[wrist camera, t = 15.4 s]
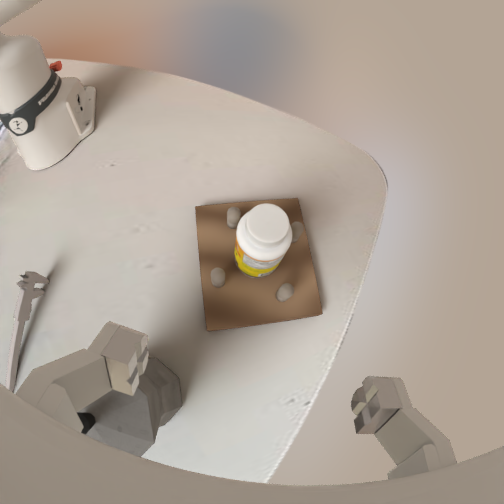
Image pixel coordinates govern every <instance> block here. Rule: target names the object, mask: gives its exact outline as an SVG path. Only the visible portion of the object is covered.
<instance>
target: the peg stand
mask: <svg viewBox="0 0 504 504" xmlns="http://www.w3.org/2000/svg"><path fill="white" fill-rule="evenodd" d="M264 203H268V204H274V205H276V206H278V207H280V208H281V209H282V210H283V211H284V212H285V213H286V214H287V216H288V219H289V223H290V226H291V229H292V242H291V244H290V247H289V249H288V250H287V252H286V254H285V255H284V257H283V258H282V260H281V262H280V263H279V265H278V266H277V268H276V269H275V270H274V272H272V273H271V274H270V275H268V276H266V277H263V278H252V277H249V276H247V275H245V274H244V273H242V272H241V271H240V270H239V268H238V267H237V265H236V262H235V258H234V251H235V240H236V231H237V226H238V223H239V221H240V219H241V218H242V217H243V216H244V215H245V214H246V213H247V212H249V211H250V210H252V209H253V208H254V207H255V206H257V205H260V204H264ZM195 209H196V224H197V237H198V249H199V261H200V272H201V282H202V292H203V301H204V310H205V319H206V327H207V331H215V330H224V329H232V328H240V327H248V326H255V325H262V324H269V323H276V322H283V321H289V320H295V319H301V318H307V317H313V316H318V315H321V314H323V313H322V307H321V302H320V297H319V292H318V287H317V282H316V277H315V272H314V267H313V262H312V257H311V253H310V248H309V244H308V239H307V235H306V230H305V226H304V222H303V217H302V213H301V209H300V205H299V201H298V198H293V199H277V200H263V201H250V202H238V203H226V204H216V205H205V206H196V207H195Z"/></svg>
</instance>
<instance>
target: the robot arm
mask: <svg viewBox="0 0 504 504" xmlns="http://www.w3.org/2000/svg"><path fill="white" fill-rule="evenodd" d="M40 1H41V0H0V26H2V25H3V24H4V23H6V22H8V21H9V20H11V19H12V18H14V17H16V16H17V15H19V14H21V13H22V12H24V11H26V10H28V9H30V8H31V7H33V6H34V5H36V4H37V3H38V2H40ZM61 68H62V64H61V61H57V62H55V63H52V64H50V67H49V65H48V63H47V60H46V58H45V56H44V53H43V50H42V48H41V45H40V42H39V41H38V40H37V39H36V38H34V37H33V36H30V35H18V36H8V35H5V34H2V33H1V32H0V120H1V121H2V123H3V124H4V126H5V127H6V128H7V130H8V132H9V134H10V136H11V137H12V139H13V141H14V143H15V145H16V146H17V148H18V149H17V152H18V154H19V156H21V157H23V159H24V162H25V164H26V166H27V167H28V168H29V169H32V170H42V169H45V168H48V167H50V166H52V165H54V164H56V163H57V162H59V161H60V160H61V159H63V158H64V157H65V156H66V155H67V154H68V153H70V152H71V150H72V149H73V148H74V147H75V146H76V145H77V144H78V143H79V142H80V141H81V140H82V139H84V138H85V137H87V136H88V135H89V134H91V133H92V132H93V130H94V119H95V101H96V89H95V87H91V86H85V87H83V86H82V83H81V81H80V80H79V79H78V78H75V77H65V78H60V77H59V76H58V75H57V74H56V73H55V71H60V70H61ZM147 343H148V335H147V334H145V333H142V332H139V331H136V330H133V329H130V328H128V327H125V326H122V325H119V324H116V323H113V322H111V321H109V322H107V323H106V324H105V325H104V327H103V328H102V330H101V331H100V332H99V334H98V335H97V337H96V338H95V339H94V341H93V342H92V344H91V345H90V347H89V348H88V350H86V349H82V350H79V351H77V352H75V353H72V354H70V355H67V356H65V357H62V358H60V359H58V360H55V361H53V362H50V363H48V364H45V365H43V366H40V367H38V368H35V369H33V370H32V371H31V373H30V374H29V376H28V377H27V378H26V380H25V381H24V382H23V384H22V385H21V387H20V388H19V390H18V391H17V392H16V394H14V393H13V392H11V391H10V390H9V389H7V388H6V387H4V386H3V385H2V384H0V504H504V446H502V447H500V448H497V449H495V450H493V451H490V452H488V453H485V454H483V455H480V456H478V457H475V458H472V459H469V460H466V461H463V462H460V463H457V461H456V459H455V455H454V452H453V449H452V446H451V443H450V440H449V439H448V438H447V437H446V436H445V435H444V434H443V433H442V432H440V431H439V430H438V429H437V428H436V427H435V426H434V425H433V424H432V423H431V422H430V421H429V420H428V419H427V418H425V417H424V416H423V415H422V414H421V413H420V412H419V411H418V410H417V409H416V408H413V407H412V404H411V402H410V399H409V396H408V393H407V390H406V388H405V385H404V383H403V380H402V379H401V378H392V377H390V378H389V377H374V376H368V377H366V378H365V379H364V381H363V382H362V384H363V386H362V387H360V388H358V389H357V390H356V392H355V393H354V394H353V398H352V401H351V407H352V411H353V413H354V414H355V415H356V418H355V419H354V423H355V429H356V433H357V434H374V435H375V437H376V438H377V439H378V441H379V442H380V443H381V445H382V446H383V447H384V449H385V450H386V451H387V453H388V454H389V455H390V457H391V458H392V459H393V461H394V462H395V463H396V465H397V466H396V467H395V468H394V469H392V470H391V471H389V473H388V480H382V481H374V482H366V483H355V484H342V485H281V484H267V483H256V482H247V481H240V480H233V479H226V478H220V477H215V476H210V475H205V474H200V473H195V472H191V471H187V470H183V469H179V468H175V467H171V466H168V465H164V464H161V463H157V462H154V461H151V460H148V459H145V458H142V457H139V456H136V455H133V454H130V453H128V452H125V451H122V450H120V449H117V448H115V447H112V446H110V445H107V444H105V443H102V442H100V441H98V440H96V439H93V438H91V437H89V436H87V435H85V434H83V433H81V432H82V429H83V424H82V422H81V420H80V418H79V416H78V414H77V412H78V411H80V410H81V409H83V408H85V407H86V406H88V405H89V404H91V403H92V402H94V401H96V400H97V399H99V398H100V397H102V396H103V395H105V394H106V393H108V392H109V391H111V390H112V389H114V390H116V391H119V392H122V393H125V394H128V395H131V396H133V395H134V393H135V391H136V389H137V386H138V384H139V376H140V375H142V374H143V373H144V371H145V369H146V365H147V362H148V355H149V353H148V349H147V348H146V345H147Z"/></svg>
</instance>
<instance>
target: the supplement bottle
mask: <svg viewBox="0 0 504 504" xmlns="http://www.w3.org/2000/svg"><path fill="white" fill-rule="evenodd" d="M291 242H292V229H291V226H290V223H289V219H288V216H287V214H286V213H285V212H284V211H283V210H282V209H281V208H280V207H278V206H276V205H274V204H268V203H264V204H260V205H257V206H255V207H254V208H253V209H252V210H250V211H249V212H247V213H246V214H245V215H244V216H243V217H242V218H241V219H240V221H239V223H238V226H237V231H236V240H235V251H234V258H235V262H236V265H237V267H238V268H239V270H240V271H241V272H242V273H244V274H245V275H247V276H249V277H252V278H263V277H266V276H268V275H270V274H271V273H272V272H274V270H275V269H276V268H277V266H278V265H279V263H280V262H281V260H282V258H283V257H284V255H285V254H286V252H287V250H288V249H289V247H290V244H291Z"/></svg>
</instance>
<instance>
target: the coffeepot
mask: <svg viewBox="0 0 504 504" xmlns="http://www.w3.org/2000/svg"><path fill="white" fill-rule="evenodd" d="M181 407H182V400H181V390H180V384H179V378H178V377H177V376H176V375H175V374H174V373H173V372H172V371H171V370H170V369H168V368H167V367H166V366H165V365H164V364H162V363H161V362H160V361H159V360H158V359H157V358H148V362H147V365H146V369H145V371H144V373H143V374H142V375H140V376H139V384H138V386H137V389H136V391H135V393H134V395H133V396H131V395H128V394H125V393H122V392H119V391H116V390H114V389H112V390H111V391H109V392H108V393H106V394H105V395H103V396H102V397H100V398H99V399H97V400H96V401H94V402H92V403H91V404H89V405H88V406H86V407H85V408H83V409H81V410H80V411H78V412H77V414H78V416H79V418H80V420H81V422H82V424H83V429H82V432H81V433H83V434H85V435H87V436H89V437H91V438H93V439H96V440H98V441H100V442H102V443H105V444H107V445H110V446H112V447H115V448H117V449H120V450H122V451H125V452H128V453H130V454H133V455H136V456H139V457H141V456H142V455H143V454H144V453H145V452H146V451H147V450H148V449H149V448H150V447H151V446H152V445H153V444H154V443H155V439H156V435H157V431H158V427H160V426H163V425H165V424H166V423H167V422H168V421H169V420H170V419H171V418H172V417H173V416H174V414H175V413H176V412H177V411H178V410H179V409H180V408H181Z"/></svg>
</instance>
